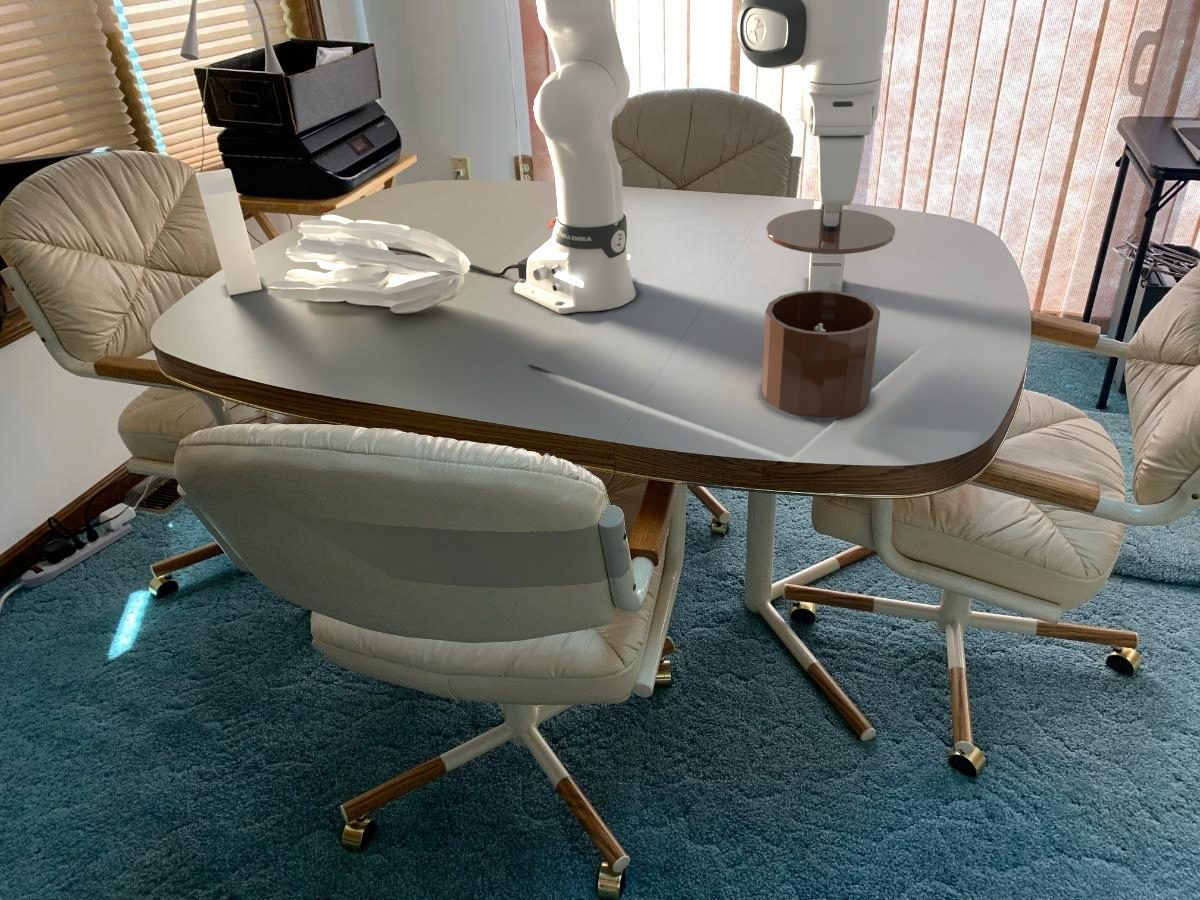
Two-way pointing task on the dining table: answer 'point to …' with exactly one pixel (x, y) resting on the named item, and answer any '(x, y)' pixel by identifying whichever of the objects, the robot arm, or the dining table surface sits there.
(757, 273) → the dining table surface
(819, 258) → the syrup box
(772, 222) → the lid
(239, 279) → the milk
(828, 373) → the crock
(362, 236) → the white jagged lobed bundle
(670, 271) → the dining table surface
